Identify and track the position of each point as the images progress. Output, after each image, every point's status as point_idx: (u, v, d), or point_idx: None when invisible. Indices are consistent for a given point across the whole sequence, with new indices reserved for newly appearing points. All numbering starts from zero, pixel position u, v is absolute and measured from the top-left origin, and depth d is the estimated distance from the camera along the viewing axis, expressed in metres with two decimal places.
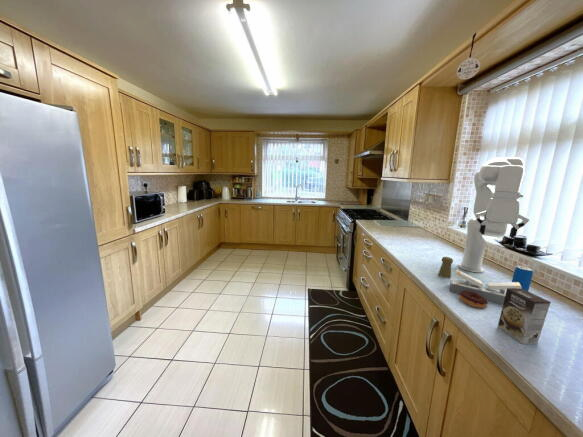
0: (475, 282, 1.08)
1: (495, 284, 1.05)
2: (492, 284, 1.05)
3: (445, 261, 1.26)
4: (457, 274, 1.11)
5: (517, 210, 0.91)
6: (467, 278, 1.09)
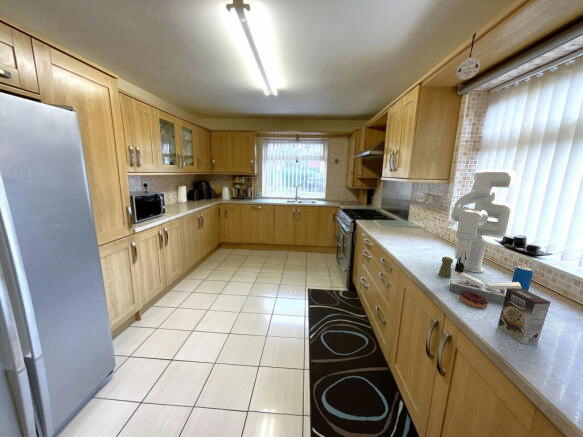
0: (475, 282, 1.08)
1: (495, 284, 1.05)
2: (492, 284, 1.05)
3: (445, 261, 1.25)
4: (457, 274, 1.11)
5: None
6: (467, 278, 1.09)
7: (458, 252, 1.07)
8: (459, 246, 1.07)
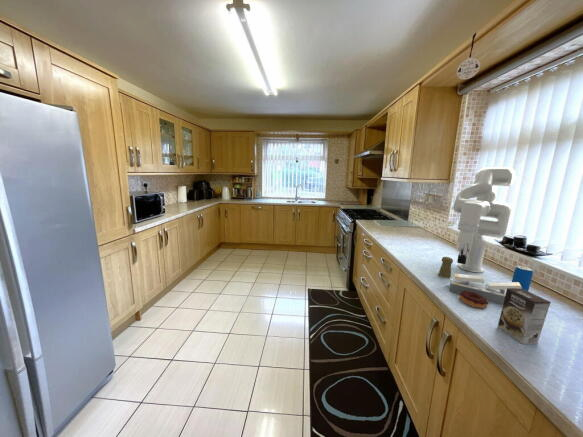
0: (476, 280, 1.07)
1: (495, 284, 1.05)
2: (492, 284, 1.05)
3: (445, 261, 1.26)
4: (456, 278, 1.11)
5: None
6: (467, 279, 1.09)
7: (460, 244, 1.06)
8: (461, 238, 1.06)
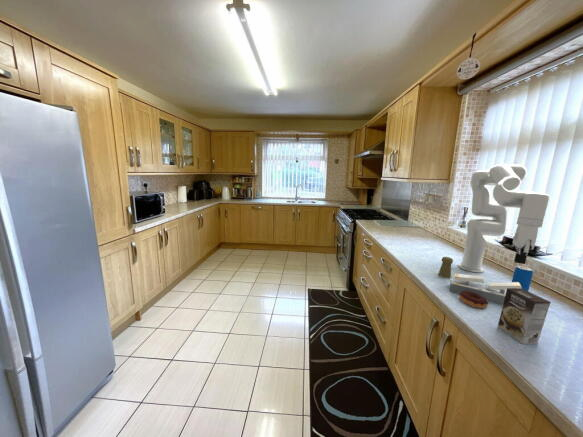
0: (476, 280, 1.07)
1: (495, 284, 1.05)
2: (492, 284, 1.05)
3: (445, 261, 1.26)
4: (456, 278, 1.11)
5: None
6: (467, 279, 1.09)
7: (521, 240, 0.94)
8: (523, 233, 0.94)
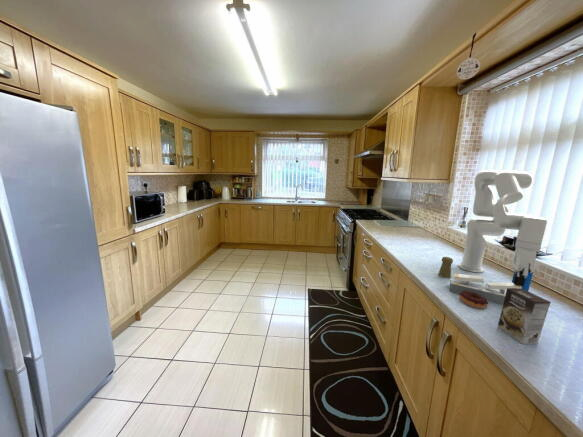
0: (476, 280, 1.07)
1: (495, 284, 1.05)
2: (492, 284, 1.05)
3: (445, 261, 1.26)
4: (456, 278, 1.11)
5: None
6: (467, 279, 1.09)
7: (520, 264, 0.96)
8: (522, 257, 0.95)
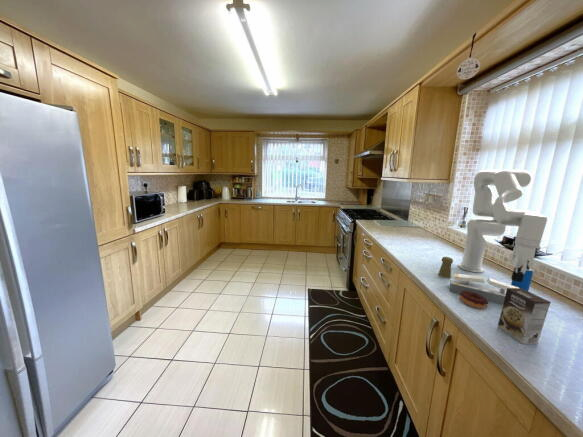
0: (476, 280, 1.07)
1: (497, 282, 1.04)
2: (494, 281, 1.05)
3: (445, 261, 1.26)
4: (456, 278, 1.11)
5: None
6: (467, 279, 1.09)
7: (519, 260, 0.96)
8: (521, 254, 0.96)
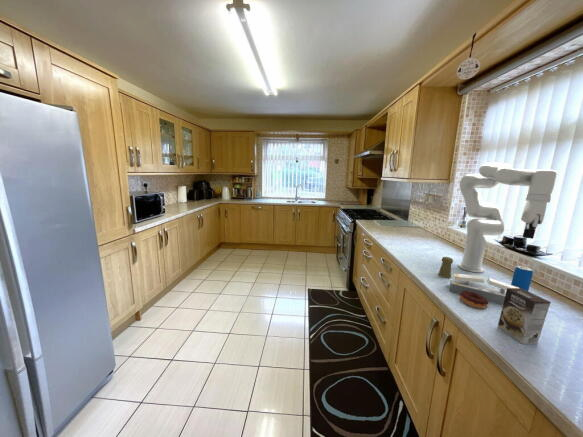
0: (476, 280, 1.07)
1: (497, 282, 1.04)
2: (494, 281, 1.05)
3: (445, 261, 1.25)
4: (456, 278, 1.11)
5: None
6: (467, 279, 1.09)
7: (531, 215, 0.99)
8: (532, 209, 0.99)
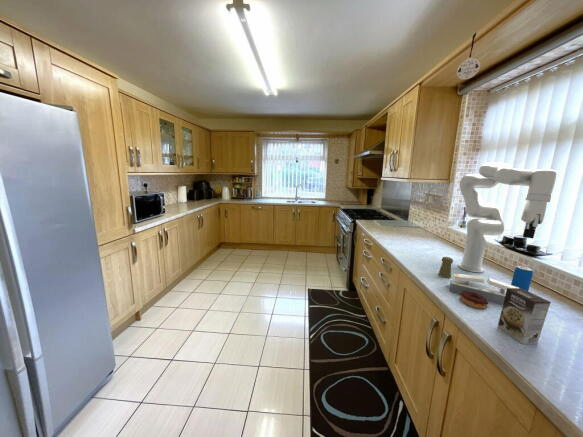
0: (476, 280, 1.07)
1: (497, 282, 1.04)
2: (494, 281, 1.05)
3: (445, 261, 1.26)
4: (456, 278, 1.11)
5: None
6: (467, 279, 1.09)
7: (531, 215, 0.99)
8: (532, 208, 0.99)
